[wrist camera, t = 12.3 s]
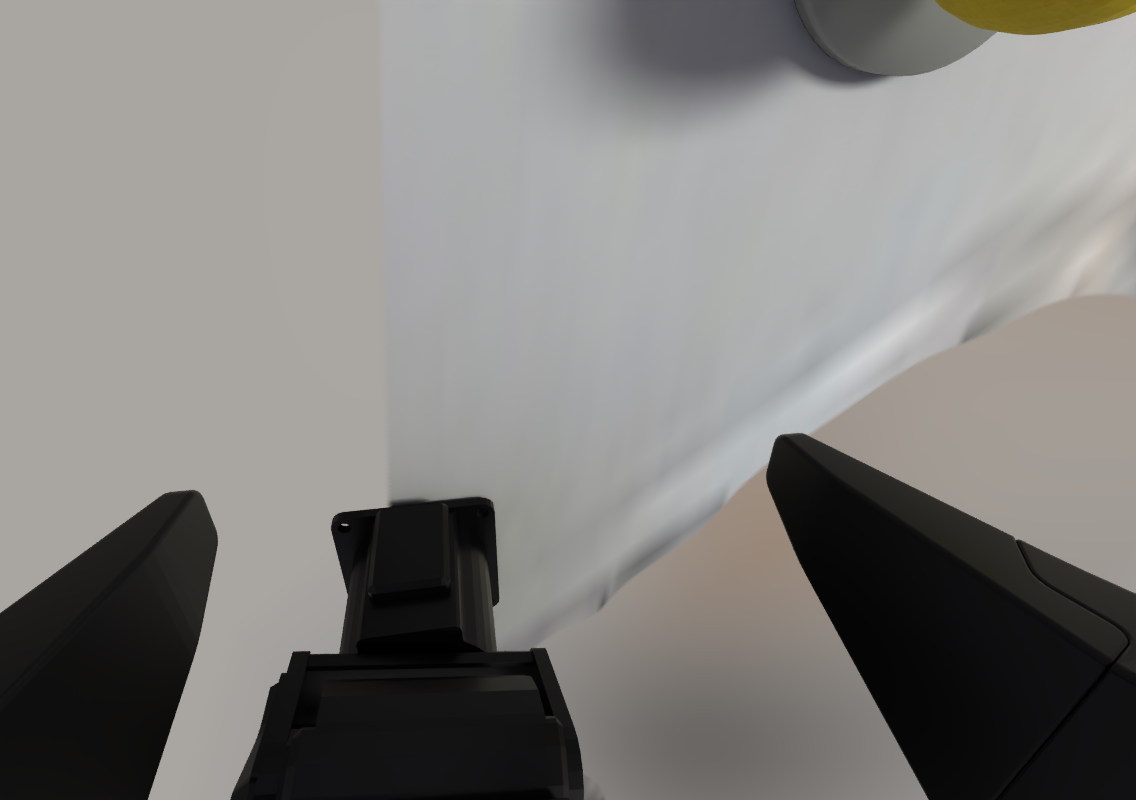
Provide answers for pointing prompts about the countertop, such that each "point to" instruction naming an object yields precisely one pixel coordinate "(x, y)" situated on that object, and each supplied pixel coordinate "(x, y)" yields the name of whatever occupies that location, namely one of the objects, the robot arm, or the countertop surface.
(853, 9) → the coaster
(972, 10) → the lemon
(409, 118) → the countertop surface
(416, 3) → the countertop surface
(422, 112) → the countertop surface
